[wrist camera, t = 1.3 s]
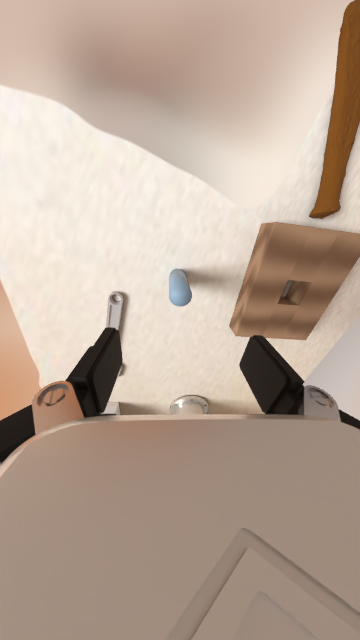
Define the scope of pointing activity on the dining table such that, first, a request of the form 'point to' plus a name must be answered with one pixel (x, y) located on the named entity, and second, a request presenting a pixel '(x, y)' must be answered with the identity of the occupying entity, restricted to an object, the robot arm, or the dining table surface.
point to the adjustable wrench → (114, 313)
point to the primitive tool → (341, 114)
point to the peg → (179, 288)
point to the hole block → (292, 264)
